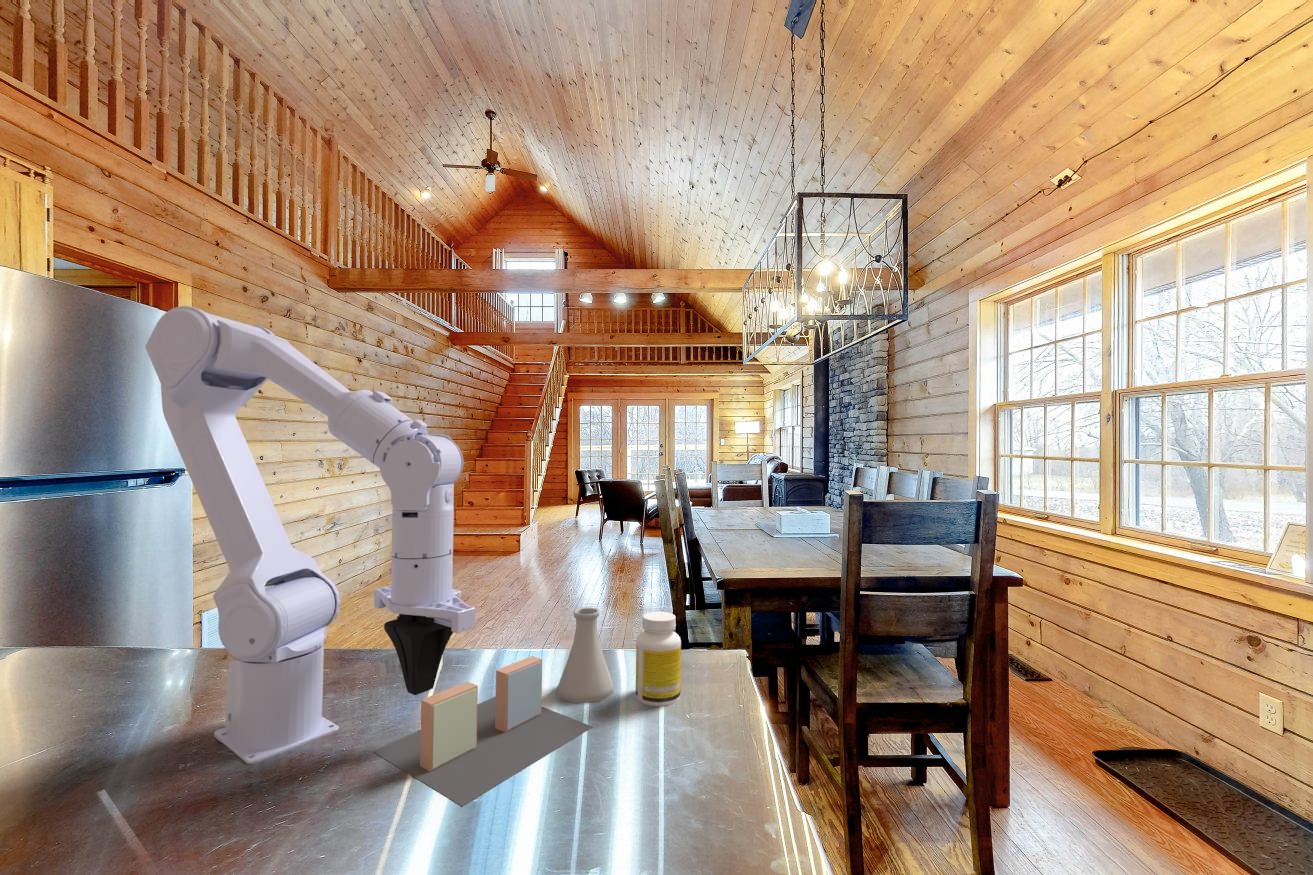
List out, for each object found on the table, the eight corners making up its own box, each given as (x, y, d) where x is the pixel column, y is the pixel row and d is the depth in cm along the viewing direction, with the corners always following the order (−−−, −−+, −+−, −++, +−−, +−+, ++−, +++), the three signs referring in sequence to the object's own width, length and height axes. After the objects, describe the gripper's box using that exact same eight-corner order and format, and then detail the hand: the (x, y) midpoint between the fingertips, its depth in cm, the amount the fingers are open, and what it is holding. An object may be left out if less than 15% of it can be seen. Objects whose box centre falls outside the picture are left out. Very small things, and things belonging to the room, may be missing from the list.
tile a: (419, 765, 50) (421, 699, 51) (466, 742, 54) (467, 681, 55) (430, 771, 49) (432, 704, 50) (477, 747, 54) (478, 685, 54)
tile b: (495, 727, 57) (496, 670, 58) (531, 709, 61) (532, 655, 62) (505, 732, 56) (506, 673, 57) (542, 714, 60) (542, 659, 61)
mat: (372, 755, 53) (372, 750, 53) (505, 695, 66) (505, 692, 66) (462, 810, 45) (462, 805, 45) (592, 730, 58) (593, 726, 58)
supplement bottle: (689, 701, 65) (690, 618, 65) (651, 713, 62) (652, 625, 62) (663, 685, 69) (664, 607, 70) (626, 695, 66) (627, 613, 67)
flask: (605, 710, 63) (606, 621, 63) (545, 703, 64) (547, 617, 64) (621, 683, 70) (623, 604, 70) (567, 678, 71) (569, 600, 71)
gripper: (502, 555, 54) (500, 694, 54) (418, 541, 63) (416, 661, 62) (438, 568, 49) (435, 723, 48) (355, 550, 57) (352, 682, 57)
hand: (420, 690), depth 55 cm, fingers closed
